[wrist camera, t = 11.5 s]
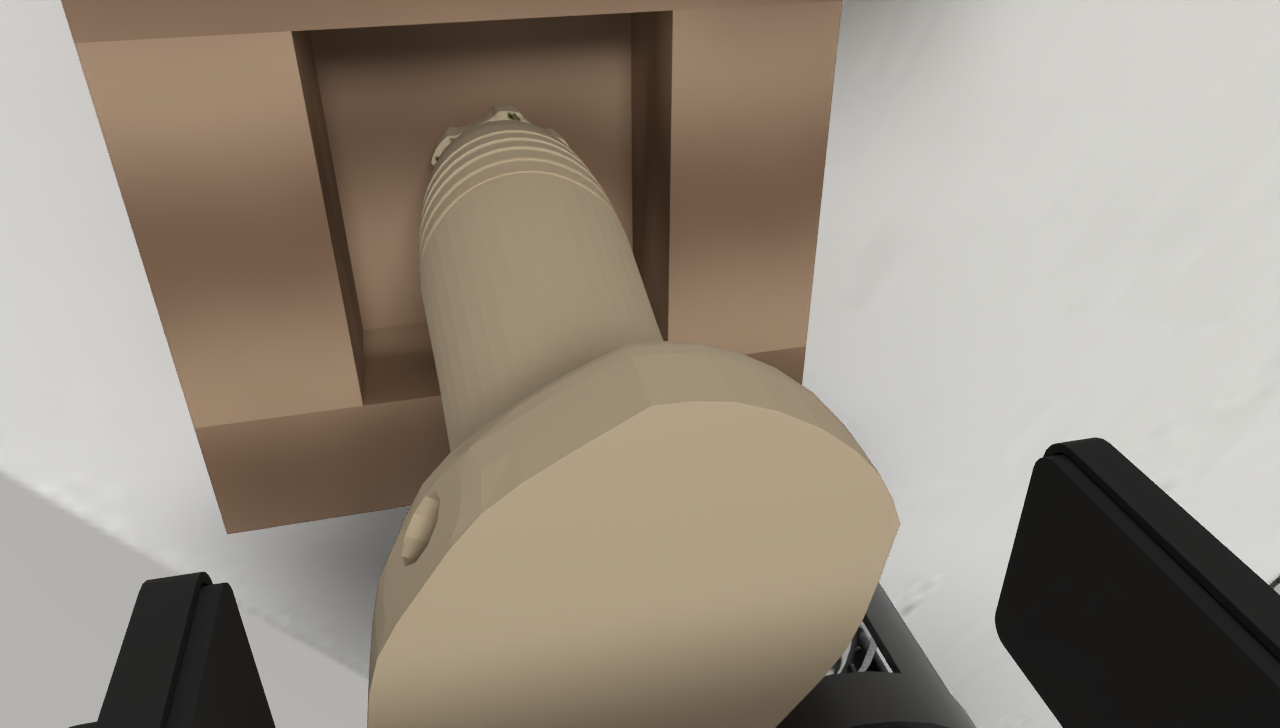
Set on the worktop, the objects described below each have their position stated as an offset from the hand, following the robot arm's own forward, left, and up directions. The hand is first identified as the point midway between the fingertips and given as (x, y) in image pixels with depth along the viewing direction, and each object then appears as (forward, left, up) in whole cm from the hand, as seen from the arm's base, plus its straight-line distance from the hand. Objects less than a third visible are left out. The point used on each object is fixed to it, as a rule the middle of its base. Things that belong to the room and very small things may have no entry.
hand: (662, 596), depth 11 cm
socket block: (0, 0, -15) cm, 15 cm away
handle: (0, 0, -14) cm, 14 cm away
